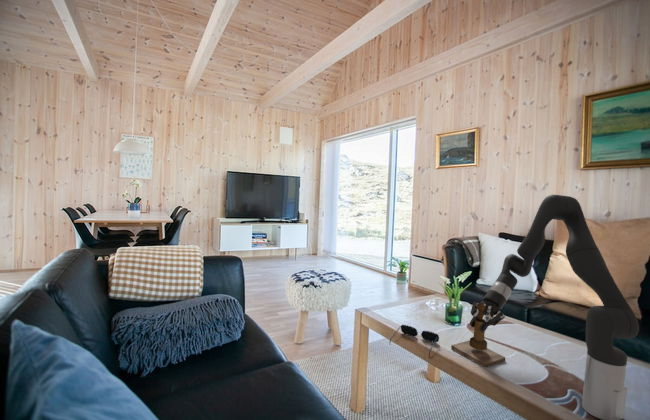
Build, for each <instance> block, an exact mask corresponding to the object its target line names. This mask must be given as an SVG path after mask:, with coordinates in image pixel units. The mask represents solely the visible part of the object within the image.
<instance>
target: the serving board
mask: <svg viewBox="0 0 650 420" xmlns="http://www.w3.org/2000/svg"><path fill="white" fill-rule="evenodd" d="M450 346H451V347H450V348H451V350H453V351H455V352H456V351H457V352H456V353H458V354H460V355H461V356H463V355H464V357H465V358H467V359H468V360H470V359H471V360H470V361H472V360H473V361H472V362H474V363H476V364H477V363H478V365H479V364H480V365H479V366H481V365H482V366H481V367H483V368H485V367H486V368H489V367H491V366H495V365H497V364H501V363H504V362H506V356H504V355H502V354H499V353H497V352H495V351H494V350H492V349H489V348H488V347H487V349H486V350H478V349H474V348H472V347H471V346H470V339H469V340H465V341H463V342H458V343H455V344H451V345H450ZM488 366H489V367H488Z"/></svg>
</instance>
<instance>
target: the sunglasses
mask: <svg viewBox="0 0 650 420" xmlns="http://www.w3.org/2000/svg"><path fill="white" fill-rule="evenodd" d="M399 330H401V332H402V333H403V334H404V335H407V334H408V336H411V335H412V336H411V337H417V336H418V334H419V331H418V329H417V328H415V327H414V326H410V325H408V324H407V325H406V324H400V326H399V327H398V329H396V330H395V332H394V334H393V335H392V336H391V338H390V339H389V345H391V343H392V342H391V341H392V339H393V337H394V336H395V335H396V334H397V332H398V331H399ZM420 336H421V338H422V339H423V340H425V339H426V341H428V340H429V342H432V341H433V342H432V343H433V344H432V345H431V347H430V348H429V351H428V357H430V354H431V350H432V348H433V347H434V345H435V343H438V342H439V341H440V334H437V333H436V332H433V331H431V330H430V331H429V330H422V331H421V332H420Z"/></svg>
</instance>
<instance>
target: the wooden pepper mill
mask: <svg viewBox="0 0 650 420" xmlns="http://www.w3.org/2000/svg"><path fill="white" fill-rule="evenodd" d="M477 303H478V304H477V309H478V311H479V313H478V314H477V315H478V318H475V325H474V327H473V336H472V337H471V338H470V339H469V340H470V346H471V347H472V348H474V349H478V350H486V349H487V348H488V342H487V341H486V339H485V332H486V330H485V331H484V332H482V331H480V327H481V325H482V324H483V322H484V321H485V319H484V316H485V315H483V311H484V309H485V305H484V304H483V303H481V302H477Z"/></svg>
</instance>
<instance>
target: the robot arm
mask: <svg viewBox="0 0 650 420" xmlns="http://www.w3.org/2000/svg"><path fill="white" fill-rule="evenodd" d="M552 220H557V221H562V222H563V223H564V224H565V227H566V229H567V232H568V239H567V242H566V246H565V256H566V258H567V260H568V262H569V266H570V267H571V270H572V271H573V273H574V274H575V275H576V276H577V277H578V278H579V279H580V280H581V281H582V282H584V283H585V285H586V286H588V287H589V288H590V289H592V291H594V293H595V294H596V295H597V296H598V298H599V299H600V301H601V303H602V305H593V306H591V307H590V308H589V309H588V311H587V314H586V319H585V320H586V321H585V345H586V349H587V350H586V360H585V370H584V378H583V379H584V380H583V381H584V382H583V390H582V397H581V398H582V400H581V407H582V409H584V410H585V412H586V413H588V414H590V415H591V416H593V417H595V418H597V419H600V420H623V419H624V418H625V411H626V410H625V409H626V401H627V400H626V399H627V391H628V389H627V387H625V383H626V382H625V381H626V373H627V364H628V355H627V354H626V352H625V351H623V350H622V349H620V348H618V347H616V346H615V345H614V339H634V338H636V337H637V336H638V334H639V332H640V324H639V320H638V318H637V317H636V314H635V313H634V311H633V309H632V308H631V306H630V304H629V303H628V302H627V300H626V298H625V296H624V295H623V293H622V292H621V290H620V288H619V286H618V285H617V283H616V282H615V280H614V277H613V275H612V274H611V272H610V270H609V268H608V266H607V264H606V262H605V259H604V258H603V255H602V253H601V251H600V249H599V247H598V245H597V244H596V242H595V240H594V237H593V235H592V233H591V231H590V227H589V226H588V223H587V221H586V217H585V215H584V212H583V209H582V206H581V204H580V202H579V201H578V199H576V197H573V196H570V195H569V196H568V195H560V194H549V195H547V196H545V197H544V199H542V202H541V203H540V205H539V207H538V210H537V212H536V215H535V217H534V218H533V222H532V224H531V225H530V228H529V231H528V232H527V234H526V236H525V237H524V238H523V240H522V242H521V243H520V245H519V246H518V248H517V250H516V253H517V254H518V255H519V256H518V255H517V254H514V253H510V254H507V256H506V257H505V258H504V261H503V264H502V268H501V272H500V274H499V275H498V277H497V278H496V280H495V282H494V283H493V284H492V285H491V286H490V288H489V290H488V291H486V292H487V293H486V294H485V296H484V297H483V299H482V301H481V302H480V303H483V304H484V305H485V309H484V311H483V315H484V316H485V319H484V320H485V321H484V322H483V324H482V325H481V327H480V331H482V332H484V331H485V332H486V330H487V329H488V328H489V326H496V325H497V324H498V323H500V322H502V320H504V319H505V318H506V316H505V314H504V312H502V311H501V310H502V309H503V308H504V306H505V304H506V303H507V301H508V300H509V297H510V296H511V294H512V292H513V290H514V289H515V287H516V286H517V284H518V279H517V277H516V276H519V277H521V278H525V277H527V276H529V275H530V273H531V271H532V267H533V264H534V261H535V259H536V257H537V256H538V254H539V253H540V251H541V250H543V247H544V245H545V243H546V228H547V226H548V224H550V222H551V221H552ZM514 274H515V275H516V276H515V275H514ZM478 303H479V302H476V301H473V302H472V306H471V310H470V314H471V316H472V318H471V320H470V321H469V325H470V327H471V328H474V325H475V318H478V315H477V314H478V313H479V311H478V309H477V304H478Z"/></svg>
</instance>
